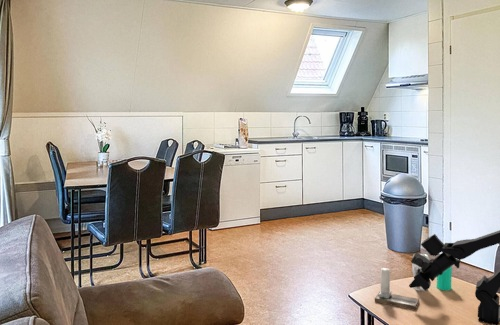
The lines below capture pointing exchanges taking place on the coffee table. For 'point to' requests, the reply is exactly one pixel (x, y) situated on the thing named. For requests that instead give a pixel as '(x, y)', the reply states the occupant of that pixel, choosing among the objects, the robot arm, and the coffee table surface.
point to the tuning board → (399, 301)
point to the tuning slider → (385, 283)
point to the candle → (445, 280)
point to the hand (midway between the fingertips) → (409, 286)
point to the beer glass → (415, 269)
